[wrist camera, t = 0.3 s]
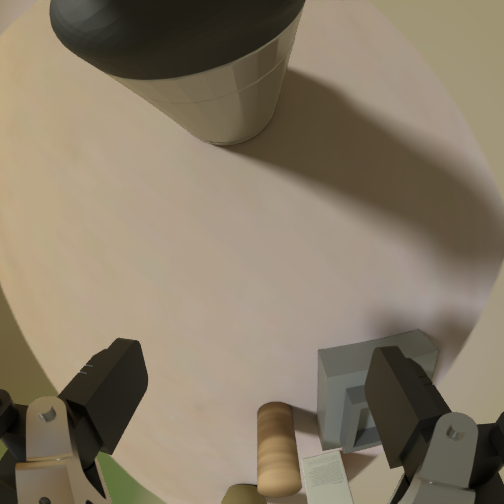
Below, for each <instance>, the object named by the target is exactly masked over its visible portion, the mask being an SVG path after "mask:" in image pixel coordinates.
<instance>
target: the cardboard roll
mask: <svg viewBox="0 0 504 504" xmlns="http://www.w3.org/2000/svg"><path fill="white" fill-rule="evenodd" d="M301 488H302V483H301V476H300V468H299V460H298V453H297V445H296V438H295V431H294V423H293V416H292V410H291V408H290V406H289V405H287V404H285V403H282V402H270V403H267V404H264V405H263V406H261V407H260V408H259V410H258V413H257V490H258V492H259V493H260V494H261V495H264V496H267V497H285V496H290V495H293V494H295V493H297V492H299V491H300V490H301Z"/></svg>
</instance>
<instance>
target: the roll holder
mask: <svg viewBox="0 0 504 504" xmlns="http://www.w3.org/2000/svg"><path fill="white" fill-rule="evenodd" d="M394 345H396V346H398V347H399V349H400V350H401V351H402V353H403V354H404V356H405V357H406V358H411V359H412V360H414V361H415V362H417V363H418V364H419V365H421V367H422V368H423V369H424V371H425V372H426V374H427V377H429V378H430V380H431V379H432V376H433V372H434V368H435V365H436V361H437V357H438V353H439V349H438V348H437V347H436V346H435V345H434V344H433V343H432V342H431V341H430V340H429V339H428V338H427V337H426V336H425V335H424V334H423V333H422V332H421V331H420V330H419V329H418V330H414V331H411V332H407V333H403V334H398V335H394V336H390V337H385V338H381V339H376V340H371V341H366V342H361V343H356V344H351V345H345V346H340V347H334V348H328V349H322V350H318V399H317V428H318V432H319V437H320V441H321V446H322V450H323V451H324V450H330V449H335V448H340V447H342V450H343V453H344V454H347V453H351V452H355V451H360V450H363V449H367V448H371V447H375V446H378V445H382V442H381V440H380V437H379V434H378V431H377V428H376V425H375V423H374V420H373V417H372V414H371V412H370V409H369V406H368V404H367V401H366V398H365V392H364V387H365V381H366V377H367V373H368V370H369V366H370V362H371V358H372V354H373V351H374V349H375V348H376V347H384V346H394Z"/></svg>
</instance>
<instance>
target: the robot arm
mask: <svg viewBox="0 0 504 504" xmlns="http://www.w3.org/2000/svg"><path fill="white" fill-rule="evenodd" d="M304 3H305V0H51V3H50V20H51V25H52V28H53V31H54V32H55V34H56V36H57V37H58V39H59V40H60V41H61V42H62V44H63V45H64V46H65V47H66V48H68V49H69V50H70V51H71V52H73V53H74V54H76V55H77V56H78V57H80V58H82V59H83V60H85V61H86V62H88V63H90V64H91V65H93V66H95V67H96V68H98V69H99V70H101V71H103V72H104V73H106V74H107V75H109V76H110V77H112V78H113V79H115V80H116V81H118V82H119V83H121V84H122V85H124V86H125V87H127V88H128V89H130V90H131V91H133V92H134V93H136V94H137V95H139V96H140V97H142V98H143V99H145V100H146V101H147V102H149V103H150V104H152V105H153V106H154V107H156V108H157V109H159V110H160V111H161V112H163V113H164V114H166V115H167V116H168V117H170V118H171V119H172V120H174V121H175V122H176V123H178V124H179V125H180V126H182V127H183V128H184V129H186V130H187V131H188V132H190V133H191V134H192V135H194V136H195V137H197V138H199V139H200V140H202V141H204V142H207V143H210V144H215V145H221V146H222V145H235V144H239V143H243V142H245V141H247V140H250V139H252V138H253V137H255V136H256V135H258V134H259V133H260V132H261V131H262V130H263V129H264V128H265V127H266V126H267V125H268V124H269V122H270V120H271V119H272V117H273V114H274V111H275V108H276V105H277V101H278V98H279V94H280V91H281V87H282V83H283V80H284V76H285V72H286V69H287V65H288V62H289V58H290V54H291V51H292V47H293V44H294V40H295V35H296V32H297V28H298V25H299V21H300V17H301V14H302V10H303V7H304ZM147 386H148V374H147V370H146V366H145V361H144V357H143V353H142V349H141V345H140V343H139V341H137V340H130V339H124V338H117V339H116V340H115V341H114V342H113V343H112V344H111V345H110V346H109V348H108V349H104V350H102V351H101V352H99V353H97V354H95V355H94V356H93V357H92V358H91V359H90V360H89V361H88V362H87V363H86V366H84V367H83V368H82V369H81V370H80V373H78V374H77V375H76V376H75V377H74V378H73V379H72V380H71V382H70V383H69V384H68V385H67V386H66V387H65V388H64V390H63V391H62V392H61V393H60V394H59V395H58V397H54V396H45V397H41V398H38V399H37V400H35V401H33V402H32V403H31V404H30V406H26V405H20V404H14V402H13V400H12V399H11V397H10V395H9V393H8V392H7V391H5V390H2V389H0V439H1V441H2V442H3V443H4V444H5V446H6V447H7V448H8V450H7V451H6V453H5V454H4V456H3V457H2V458H1V460H0V504H113V503H112V501H111V499H110V496H109V493H108V490H107V487H106V484H105V481H104V478H103V475H102V472H101V469H100V465H99V462H98V459H97V458H96V456H97V454H98V452H99V451H101V452H104V453H107V454H110V455H112V454H113V452H114V450H115V448H116V446H117V444H118V442H119V440H120V438H121V436H122V435H123V433H124V431H125V429H126V427H127V425H128V423H129V421H130V420H131V418H132V416H133V414H134V412H135V410H136V408H137V407H138V405H139V403H140V401H141V399H142V397H143V396H144V394H145V392H146V390H147ZM364 392H365V398H366V401H367V404H368V406H369V409H370V412H371V414H372V417H373V420H374V423H375V425H376V428H377V431H378V434H379V437H380V440H381V442H382V445H383V448H384V451H385V454H386V457H387V460H388V463H389V466H390V469H392V468H396V467H400V466H403V468H404V471H405V472H404V473H403V475H402V477H401V479H400V480H399V483H398V485H397V486H396V488H395V490H394V493H393V495H392V496H391V498H390V500H389V502H388V504H504V484H503V481H502V479H501V477H500V475H499V473H498V472H499V471H500V470H501V468H502V467H503V466H504V412H503V413H502V414H501V415H500V417H499V418H498V420H497V421H496V423H490V424H478V425H476V423H475V422H474V420H473V419H472V418H470V417H469V416H468V415H465V414H463V413H458V412H451V410H450V408H449V407H448V405H447V404H446V402H445V401H444V399H443V398H442V396H441V395H440V393H439V392H438V390H437V389H436V387H435V386H434V385H432V381H431V380H430V378H429V377H427V374H426V372H425V371H424V369H423V368H422V367H421V365H419V364H418V363H417V362H415V361H414V360H412V359H411V358H406V357H405V356H404V354H403V353H402V351H401V350H400V349H399V347H398V346H396V345H394V346H384V347H376V348H375V349H374V351H373V354H372V358H371V362H370V366H369V370H368V373H367V377H366V381H365V387H364Z"/></svg>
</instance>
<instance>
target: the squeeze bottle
mask: <svg viewBox="0 0 504 504" xmlns="http://www.w3.org/2000/svg"><path fill="white" fill-rule="evenodd" d="M221 503H222V504H267V503H266V501H265V498H264V496H263V495H261V494H260V493H259V492H258V490H257V487H256V486H253V485H247V484H240V485H234V486H231V487H230V488H229V489H228V491H227V493H226V494H225V496H224V498H223V500H222V502H221Z"/></svg>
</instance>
